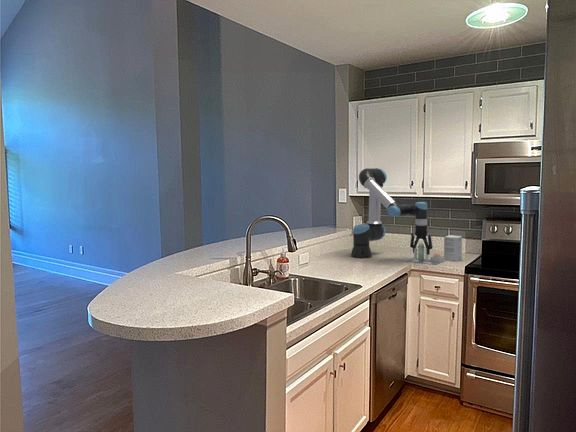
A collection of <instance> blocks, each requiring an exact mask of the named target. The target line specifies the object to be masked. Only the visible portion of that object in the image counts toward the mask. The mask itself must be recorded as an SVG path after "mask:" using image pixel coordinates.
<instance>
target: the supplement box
mask: <svg viewBox="0 0 576 432" xmlns="http://www.w3.org/2000/svg"><path fill="white" fill-rule="evenodd" d="M443 239H444V240H443V256H444V261H450V262H460V261H462V259H463V258H462V257H463V256H462V255H463V236H462V235H451V234H450V235H446V236H444V238H443Z"/></svg>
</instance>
